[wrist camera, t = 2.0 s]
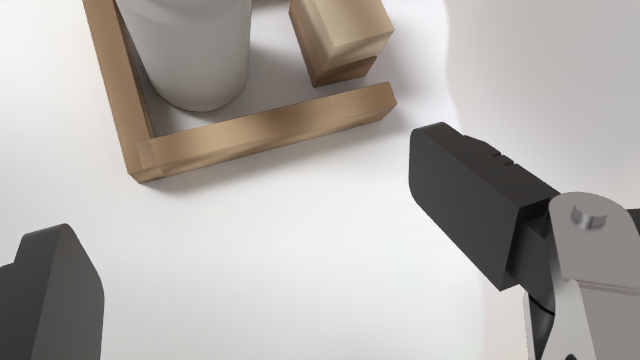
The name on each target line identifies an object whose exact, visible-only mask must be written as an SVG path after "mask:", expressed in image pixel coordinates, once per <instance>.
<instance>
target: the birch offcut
mask: <svg viewBox="0 0 640 360" xmlns="http://www.w3.org/2000/svg"><path fill="white" fill-rule="evenodd" d="M294 1H295V4H296V6H297V8H298V11H299V13H300V15H301V18H302V20H303V22H304V25H305V27H306V30H307V32H308V34H309V37H310V39H311V41H312V44H313V46H314V48H315V51H316V53H317V55H318V58H319V60H320V62H321V65H322V67H323V70H324V71H325V70H329V69H332V68H335V67H339V66H342V65H346V64H349V63H352V62H356V61H359V60H362V59H366V58H369V57H372V56H376V55H378V54H379V53H380V51H381V50H382V48H383V47H384V45H385V44H386V42H387V40H388V39H389V37H390V36H391V34H392V33H393V31H394V28H393V26H392V24H391V22H390V20H389V17H388V15H387V13H386V11H385V9H384V6H383V4H382V2H381V0H294Z"/></svg>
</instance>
